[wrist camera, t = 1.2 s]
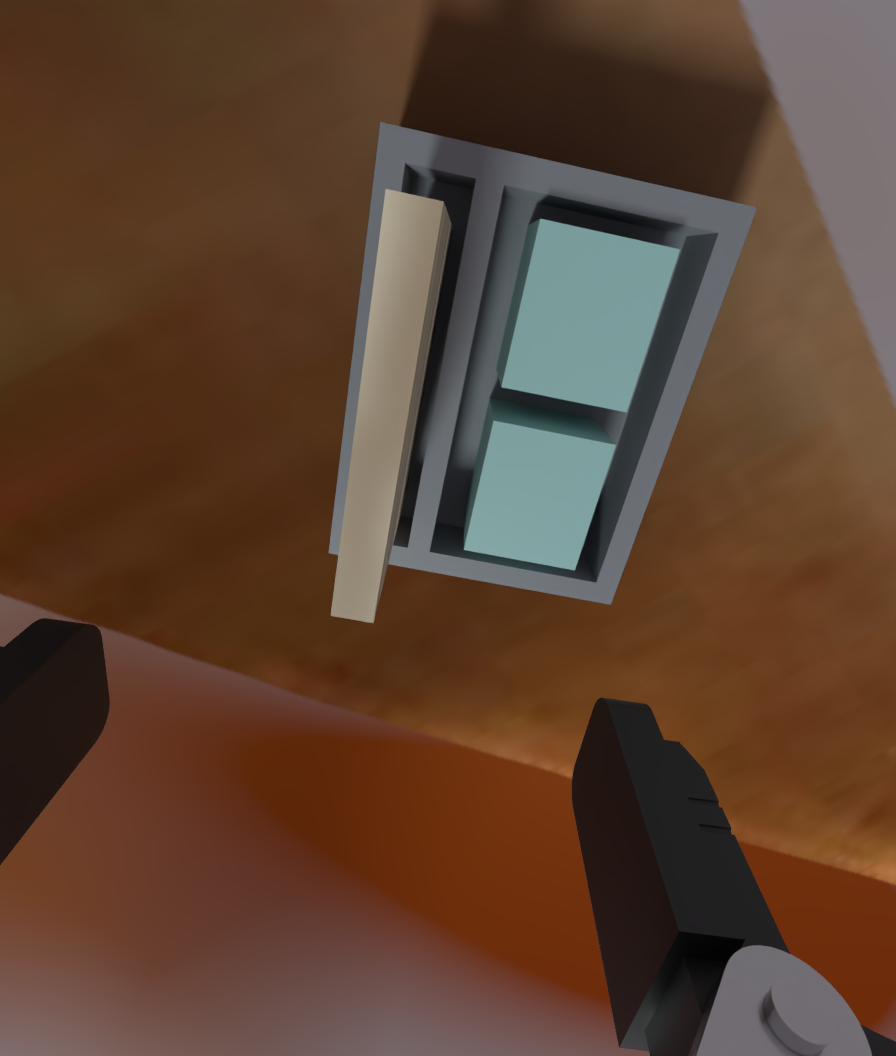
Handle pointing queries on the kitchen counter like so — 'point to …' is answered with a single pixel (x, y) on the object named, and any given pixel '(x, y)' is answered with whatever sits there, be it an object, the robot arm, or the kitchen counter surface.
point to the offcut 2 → (535, 484)
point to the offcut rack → (478, 327)
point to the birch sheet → (390, 393)
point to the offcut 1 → (582, 314)
